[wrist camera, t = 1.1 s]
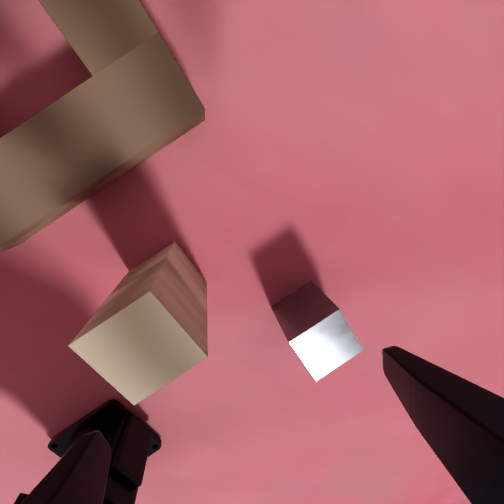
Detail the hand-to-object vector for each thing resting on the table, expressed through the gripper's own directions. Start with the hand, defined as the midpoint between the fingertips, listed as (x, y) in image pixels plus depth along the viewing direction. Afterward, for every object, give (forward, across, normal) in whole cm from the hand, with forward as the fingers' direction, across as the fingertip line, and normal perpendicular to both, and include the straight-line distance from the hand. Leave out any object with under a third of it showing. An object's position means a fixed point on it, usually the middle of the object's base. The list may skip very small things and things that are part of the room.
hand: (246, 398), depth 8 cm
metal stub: (+13, -5, +7) cm, 15 cm away
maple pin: (+12, +5, 0) cm, 13 cm away
